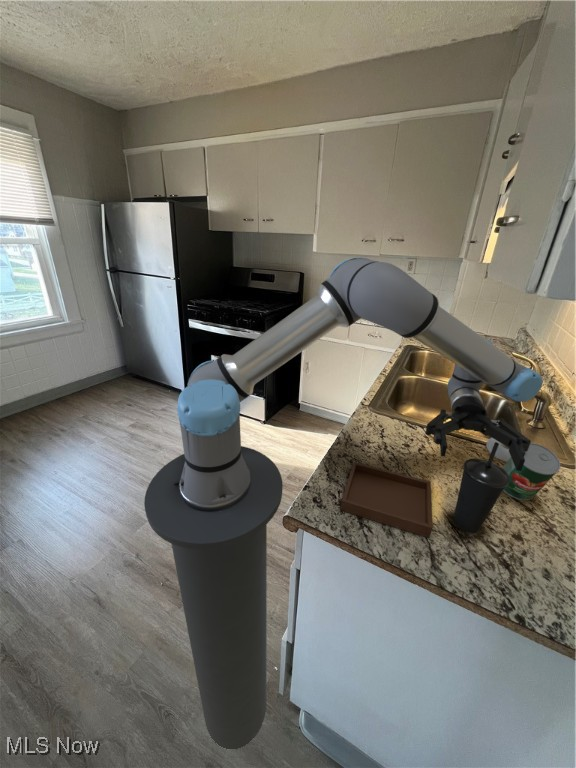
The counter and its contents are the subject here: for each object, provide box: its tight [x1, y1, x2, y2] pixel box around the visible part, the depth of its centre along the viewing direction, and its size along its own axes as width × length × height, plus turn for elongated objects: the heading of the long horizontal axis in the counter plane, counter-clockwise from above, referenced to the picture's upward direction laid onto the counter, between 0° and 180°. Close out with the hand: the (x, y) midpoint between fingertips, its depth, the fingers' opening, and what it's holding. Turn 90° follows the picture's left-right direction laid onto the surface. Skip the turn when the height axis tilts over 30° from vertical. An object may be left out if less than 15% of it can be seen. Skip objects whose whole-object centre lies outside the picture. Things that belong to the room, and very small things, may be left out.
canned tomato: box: [501, 442, 562, 501], centre depth 70 cm, size 8×8×11 cm
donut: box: [485, 437, 511, 463], centre depth 85 cm, size 10×4×10 cm
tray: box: [340, 461, 433, 539], centre depth 69 cm, size 18×14×3 cm
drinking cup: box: [453, 442, 510, 534], centre depth 60 cm, size 8×8×20 cm
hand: (481, 458), depth 63 cm, fingers open, 13 cm apart
